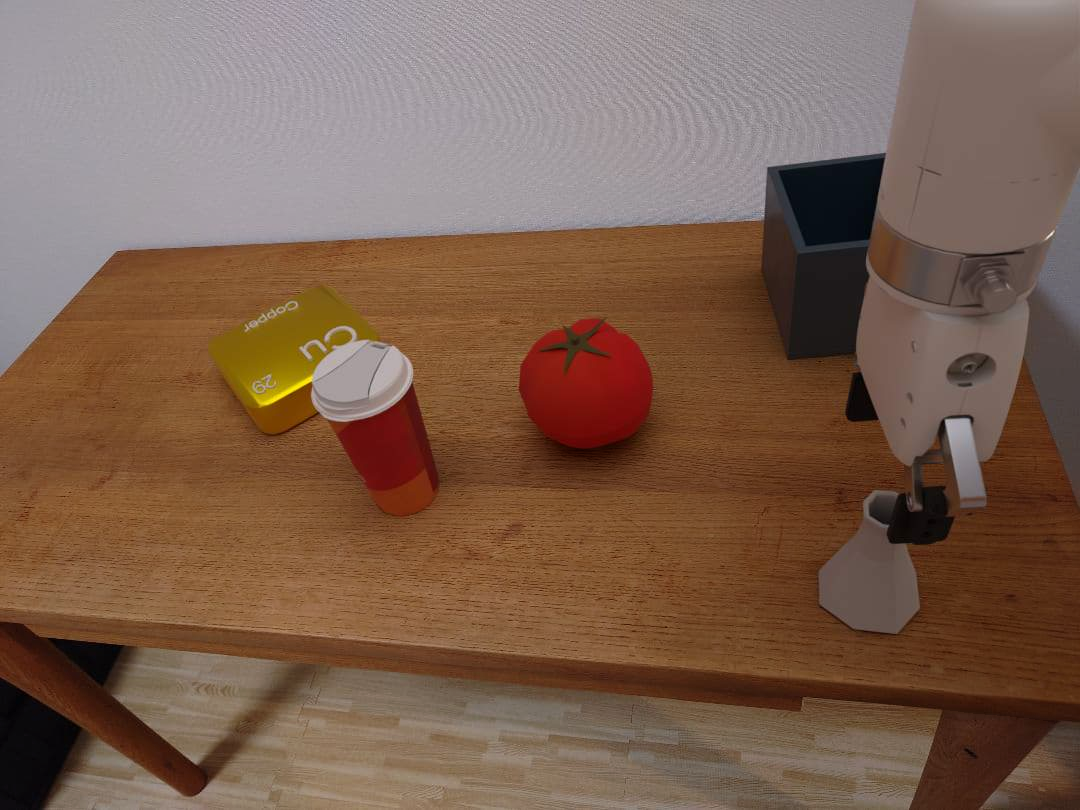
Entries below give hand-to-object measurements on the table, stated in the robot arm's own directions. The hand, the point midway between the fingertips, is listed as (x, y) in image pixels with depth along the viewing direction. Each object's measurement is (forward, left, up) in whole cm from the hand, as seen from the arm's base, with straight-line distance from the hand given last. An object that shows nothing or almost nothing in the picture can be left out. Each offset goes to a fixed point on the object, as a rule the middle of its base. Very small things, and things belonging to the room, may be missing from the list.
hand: (891, 473), depth 50 cm
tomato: (+20, -19, -14) cm, 31 cm away
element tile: (+51, -31, -14) cm, 61 cm away
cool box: (-5, -33, -14) cm, 36 cm away
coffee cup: (+37, -13, -14) cm, 41 cm away
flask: (0, 0, -14) cm, 14 cm away
